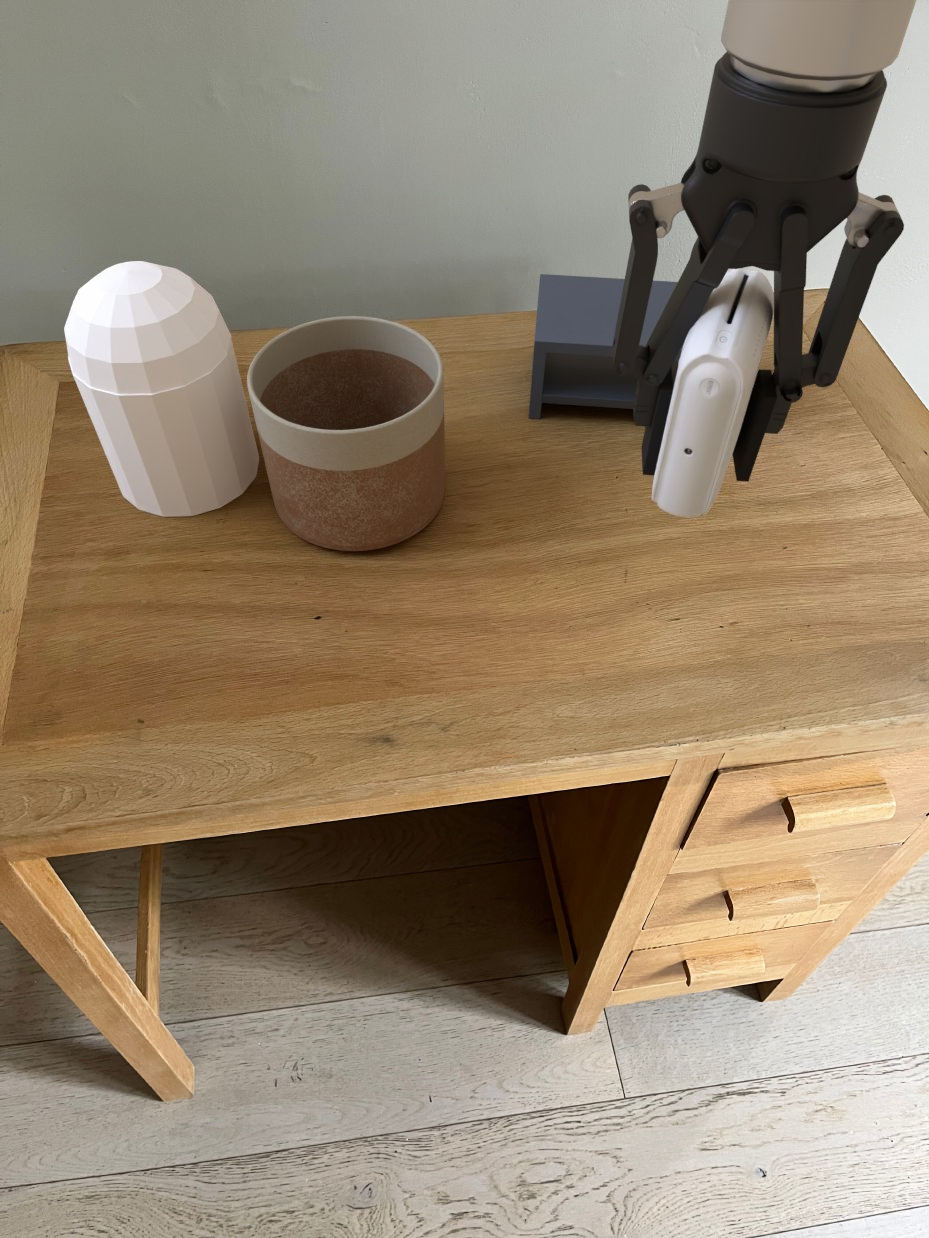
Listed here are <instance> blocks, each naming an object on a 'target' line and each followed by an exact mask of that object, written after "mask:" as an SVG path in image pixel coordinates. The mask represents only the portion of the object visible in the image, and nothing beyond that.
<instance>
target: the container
mask: <svg viewBox="0 0 929 1238" xmlns="http://www.w3.org/2000/svg"><path fill="white" fill-rule="evenodd" d="M63 331H64V336H65V344H66V350H67V360H68V364H69V366H70V367H69V368H70V370H71V374H72V378H73V379H74V381H75V384H76V386H77V389H78V391H79V393H80V396H81V399H82V401H83V403H84V405H85V408H86V411H87V413H88V416H89V418H90V421H91V422H92V425H93V427H94V430H95V433H96V435H97V437H98V440H99V443H100V445H101V447H102V449H103V451H104V455H105V456H106V459H107V461H108V464H109V466H110V469H111V471H112V473H113V476H114V479H115V481H116V483H117V486H118V488H119V491H120V493H121V495H122V497H123V498H124V499H125V500H127V501H128V502H129V503H130V504H131V505H132V506H134V507H135V508H136V509H137V510H139V511H142V512H145V513H149V514H151V515H155V516H159V517H163V518H166V517H167V518H169V517H194V516H198V515H200V514H205V513H208V512H210V511H214V510H218V509H221V508H222V507H224V506H225V505H227V504H229V503H230V502H233V501H234V500H235V499H237V498H238V497H240V496H241V495H243V494H244V493H245V492H246V491H247V489H248V488H249V486H250V485H251V484H252V483H253V481H254V480H255V479H256V478H257V474H258V469H259V462H260V456H259V450H258V446H257V443H256V438H255V432H254V429H253V425H252V421H251V417H250V416H251V415H250V412H249V408H248V404H247V400H246V395H245V391H244V386H243V382H242V378H241V373H240V370H239V369H240V368H239V366H238V361H237V356H236V354H235V348H234V344H233V340H232V333H231V332H230V330H229V327H228V326H227V323H226V322H225V319H224V317H223V315H222V314H221V311H220V309H219V307H218V305H217V303H216V302H215V299H214V296H213V295H212V294H211V293H210V292H208V291H207V290H206V289H205V288H204V287H202V285H200V284H199V283H198V282H196V281H195V280H194V279H193V278H192V277H191V276H190V275H187V274H186V273H184V272H183V271H182V270H180V269H178V268H177V267H176V268H175V267H170V266H166V265H162V264H157V263H152V262H148V261H143V260H137V261H136V260H132V261H131V260H130V261H129V260H128V261H125V262H119V263H116V264H114V265H111V266H109V267H107V268H105V269H103V270H102V271H100V272H99V273H98V274H96V275H95V276H93V277H92V278H91V279H90V280H89V281H87V282H86V283H85V284H83V285H82V286H81V287H80V288H79V289H78V290H77V292H76V294H75V297H74V298H73V301H72V304H71V307H70V309H69V312H68V316H67V319H66V322H65V324H64V327H63Z"/></svg>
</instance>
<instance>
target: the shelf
mask: <svg viewBox="0 0 929 1238" xmlns="http://www.w3.org/2000/svg"><path fill="white" fill-rule="evenodd" d="M624 280H625V278H617V277H616V278H615V277H599V276H581V275H579V276H578V275H563V274H549V273H548V274H547V273H545V274H544V273H540V274H539V282H538V284H539V285H538V292H537V293H538V294H537V305H536V306H537V307H536V319H535V331H534V339H533V340H534V342H533V355H532V367H531V379H530V390H529V391H530V393H529V405H528V419H535V420H536V419H537V420H540V419H541V414H542V404H554V405H568V406H581V407H598V408H613V409H626V410H627V409H629V410H633V403H634V398H635V392H636V387H637V381H638V379H637V378H636V377H634V376H632V375H627V376H619V375H617V374H616V373H615V372H614V370H613V339H614V334H615V329H616V323H617V318H618V312H619V307H620V302H621V296H622V291H623V286H624ZM677 283H678V281H668V280H653V282H652V287H651V292H650V296H649V301H648V306H647V310H646V315H645V320H644V325H643V329H642V334H641V339H640V343H639V345H641V346H642V345H643V346H644V347H645V346H646V344H647V342H648V340H649V338H650V336H651V334H652V332H653V330H654V328H655V326H656V324H657V322H658V320H659V318H660V316H661V314H662V312H663V310H664V308H665V306H666V304H667V302H668V301H669V299H670V297H671V295H672V293H673V291H674V289H675V287H676V285H677ZM683 345H684V344H683ZM682 349H683V346H682V347H681V349H680V351H679V353H678V355H677V357H676V358H675V360H674V362H673V364H672V366H671V368H672V379H673V389H674V384H675V379H676V375H677V370H678V363H679V359H680V356H681V352H682Z"/></svg>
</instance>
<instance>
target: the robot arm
mask: <svg viewBox="0 0 929 1238" xmlns="http://www.w3.org/2000/svg"><path fill="white" fill-rule="evenodd" d="M916 3H917V0H728V1H727V6H726V10H725V16H724V20H723V25H722V30H721V33H720V42H721V44H722V46H723V47H724V49H725V50H726V52H725V53H724V54H723V55H721V57H720V58H719V59H718V60H717V61H716V63H715V65H714V67H713V73H712V78H711V82H710V87H709V92H708V99H707V103H706V108H705V113H704V118H703V121H702V122H703V123H702V128H701V133H700V138H699V142H698V147H697V151H696V154H695V157H694V158H693V161H692V162H691V164H690V165H689V167H688V168H687V169H686V170H685V172H684V174H683V175H682V177H681V180H680V182H679V183H675V184H671V185H667V186H664V187H660V188H657V189H654V190H652V189H651V188H650V187H649V186H648V185H645V184H642V183H640V184H636V185H634V186H633V187H632V188H631V189H630V190H629V193H628V197H627V199H628V200H627V201H628V221H629V227H630V232H631V233H630V234H631V243H630V247H629V248H630V249H629V255H628V260H627V265H626V270H625V275H624V279H625V280H624V286H623V291H622V296H621V302H620V307H619V312H618V318H617V323H616V329H615V334H614V339H613V370H614V372H615V373H616V374H617V375H619V376H627V375H632V376H634V377H636V378H637V379H638V381H637V387H636V392H635V398H634V403H633V409H632V411H633V412H632V413H633V421H634V425H635V426H636V427H637V426H638V427H645V428H644V433H643V438H642V443H641V447H640V449H641V450H640V451H641V464H642V465H641V467H642V468H641V469H642V470H641V471H642V475H643V476H654V475H655V470H656V465H657V462H658V457H659V453H660V448H661V443H662V439H663V434H664V430H665V425H666V421H667V416H668V412H669V407H670V403H671V398H672V393H673V379H672V368H671V366H672V364H673V362H674V360H675V358H676V357H677V355H678V353H679V351H680V349H681V347H682V346H683V344H684V342H685V339H686V337H687V334H688V332H689V331H690V329H691V328H692V327H693V326H694V324H695V322H696V320H697V318H698V317H699V315H700V313H701V311H702V309H703V307H704V306H705V304H706V302H707V300H708V298H709V297H710V295H711V293H712V291H713V290H714V289H715V288H717V287H718V286H719V285H720V283H721V281H722V280H723V278H724V276H725V274H726V272H728V271H729V270H732V269H739V268H744V269H745V268H749V267H755V268H757V269H761V270H764V271H767V272H773V293H774V313H773V372H772V369H763V368H762V369H761V368H758V371H757V375H756V378H755V382H754V385H753V389H752V392H751V396H750V399H749V402H748V406H747V410H746V413H745V416H744V420H743V423H742V426H741V429H740V433H739V436H738V439H737V442H736V445H735V448H734V451H733V454H732V460H733V467H734V472H735V473H734V474H735V480H736V482H749V481H750V478H751V476H752V472H753V470H754V466H755V464H756V461H757V459H758V455H759V452H760V449H761V446H762V443H763V440H764V438H765V435H766V434H772V435H778V434H779V433H780V431H782V429H783V428H784V425H785V423H786V419H787V417H788V414H789V412H790V409H791V406H792V404H794V403H796V402H798V401H799V400H800V399H802V397H803V395H804V392H803V388H804V387H808V386H812V385H815V386H817V387H818V388H827V387H831V386H832V385H833V384H834V383H835V382H836V381H837V379H838V375H839V372H840V370H841V367H842V364H843V361H844V359H845V356H846V354H847V351H848V349H849V345H850V342H851V340H852V337H853V334H854V331H855V329H856V327H857V323H858V320H859V318H860V315H861V313H862V309H863V308H864V304H865V302H866V299H867V296H868V293H869V290H870V288H871V285H872V282H873V279H874V277H875V274H876V271H877V269H878V265H879V264H880V262H882V260H883V259H884V257H885V256H886V254H887V253H888V252H889V251H890V249H892V248H893V245H894V244H895V243H896V242H897V241H898V239H899V238H900V237H901V236H902V233H903V231H904V229H905V224H904V221H903V219H902V216H901V215H900V212H899V210H898V208H897V206H896V204H895V201H894V199H893V198H892V197H891V196H890V195H887V194H881V195H878V196H876V197H871V196H869V195H867V194H864V193H862V192H859V187H858V180H857V179H858V178H857V176H858V175H857V174H858V170H859V167H860V165H861V162H862V161H863V157H864V154H865V152H866V149H867V145H868V143H869V140H870V136H871V134H872V131H873V128H874V126H875V122H876V119H877V116H878V113H879V112H880V111H879V110H880V108H881V105H882V103H883V99H884V96H885V94H886V90H887V87H888V81H887V79H886V77H885V76H886V75H885V73H884V72H885V71H884V70H885V69H886V68H889V66H892V64H893V63H894V62H896V60H897V58H899V54H900V52H901V48H902V46H903V42H904V40H905V36H906V33H907V30H908V27H909V24H910V21H911V19H912V15H913V12H914V9H915V6H916ZM683 211H684V212H685V214H686V216H687V218H688V220H689V221H690V224H691V226H692V228H693V230H694V232H695V234H696V235H697V238H696V240H695V242H694V243H693V246H692V249H691V252H690V257H689V260H688V262H687V264H686V266H685V267H684V269H683V271H682V273H681V275H680V277H679V279H678V281H677V282H678V283H677V285H676V287H675V289H674V291H673V293H672V295H671V297H670V299H669V301H668V302H667V304H666V306H665V308H664V310H663V312H662V314H661V316H660V318H659V320H658V322H657V324H656V326H655V328H654V330H653V332H652V334H651V336H650V338H649V340H648V342H647V344H646V346H645V347H644V346H643V345H642V346H641V345H639V343H640V339H641V334H642V329H643V325H644V320H645V315H646V310H647V306H648V301H649V296H650V292H651V287H652V282H653V281H654V277H655V272H656V268H657V263H658V256H659V241H658V239H664V238H665V237H666V236H667V235H668V234H669V233H671V230H672V228H673V221H674V219H675V217H676V216H677V215H678V214H679V213H680V212H683ZM845 220H846V222H845V225H844V228H843V230H844V234H845V237H846V239H845V241H844V243H843V246H842V248H841V251H840V255H839V258H838V260H837V263H836V267H835V270H834V273H833V275H832V280H831V282H830V286H829V288H828V292H827V294H826V297H825V301H824V304H823V307H822V309H821V313H820V316H819V319H818V322H817V324H816V328H815V332H814V334H813V337H812V340H811V344H810V347H809V349H808V352H807V353H803V340H804V339H803V337H804V335H803V333H804V304H805V302H804V301H805V288H806V285H807V264H808V263H807V261H808V260H807V258H808V253H809V252H810V251H811V250H812V249H813V248H814V247H815V246H817V245H818V244H819V243H820V242H821V241H822V240H823V239H825V238H826V237H827V236H828V235H829V234H830V233H831V232H832V231H834V230H835V229H836V228H837V227H838V226H840V225H841V223H843V222H844V221H845Z"/></svg>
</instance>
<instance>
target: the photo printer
mask: <svg viewBox="0 0 929 1238" xmlns="http://www.w3.org/2000/svg"><path fill="white" fill-rule="evenodd" d="M773 319H774V289H773V287H772V284H771V282H770V280H769V278H767V276H766V275H765V274H764V273H763V272H762V271H760V270H748V269H746V268H745V267H744V268H739V269H729V270H728V271H727V272H726V274H725V276H724V278H723V280H722V281H721V283H720V285H719V286H718V287H717V288H715V289H714V290H713V291H712V293H711V295H710V297H709V298H708V300H707V302H706V304H705V306H704V307H703V309H702V311H701V313H700V315H699V317H698V318H697V320H696V322H695V324H694V326H693V327H692V328H691V329H690V331H689V332H688V334H687V337H686V339H685V342H684V345H683V349H682V352H681V356H680V359H679V363H678V370H677V375H676V379H675V384H674V389H673V393H672V398H671V403H670V407H669V412H668V416H667V421H666V425H665V430H664V434H663V439H662V443H661V448H660V453H659V457H658V462H657V465H656V470H655V475H653V481H652V488H651V501H652V502H654V503H656V504H657V507H658V508H659V509H661V510H662V511H663V512H665V513H667V514H669V515H672V516H676V517H678V518H686V519H689V518H690V519H693V518H697V517H700V516H701V515H704V516H706V515H707V514H708V513H709V511H711V508H712V507H713V506H714V504H715V502H716V500H717V497H718V496H719V493H720V491H721V488H722V485H723V484H724V480H725V478H726V474H727V472H728V468H729V467H730V466H729V465H730V463H731V460H732V458H733V451H734V448H735V445H736V442H737V439H738V436H739V433H740V429H741V426H742V423H743V420H744V416H745V413H746V410H747V406H748V402H749V399H750V396H751V392H752V389H753V386H754V383H755V379H756V376H757V373H758V370H759V369H760V368H759V367H760V364H761V360H762V358H763V353H764V350H765V347H766V343H767V340H768V337H769V334H770V329H771V327H772V322H773Z"/></svg>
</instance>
